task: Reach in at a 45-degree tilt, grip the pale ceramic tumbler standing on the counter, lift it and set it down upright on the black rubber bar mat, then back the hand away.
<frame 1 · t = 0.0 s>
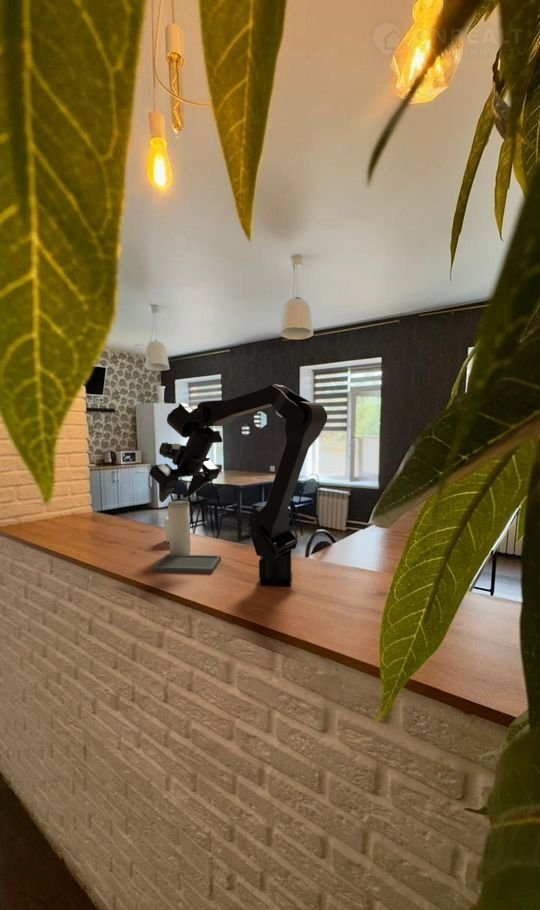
hand: (174, 498, 103), 15 cm above the bar counter, tool tilted 35°, fingers open, 9 cm apart
tumbler: (180, 553, 106), on the bar counter
shot glass: (176, 540, 118), on the bar counter
bar mat: (188, 565, 96), on the bar counter
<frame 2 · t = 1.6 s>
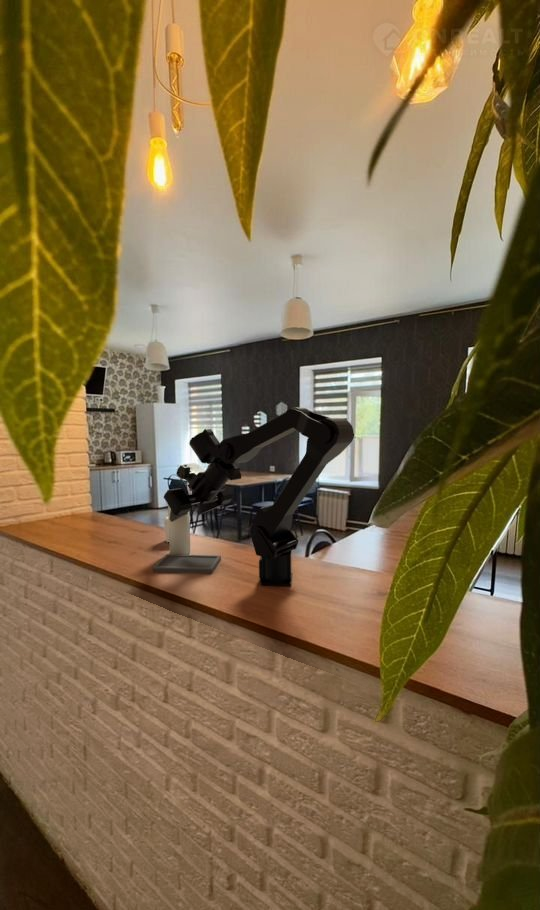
hand: (184, 516, 104), 10 cm above the bar counter, tool tilted 45°, fingers open, 9 cm apart
nothing on the bar counter moved.
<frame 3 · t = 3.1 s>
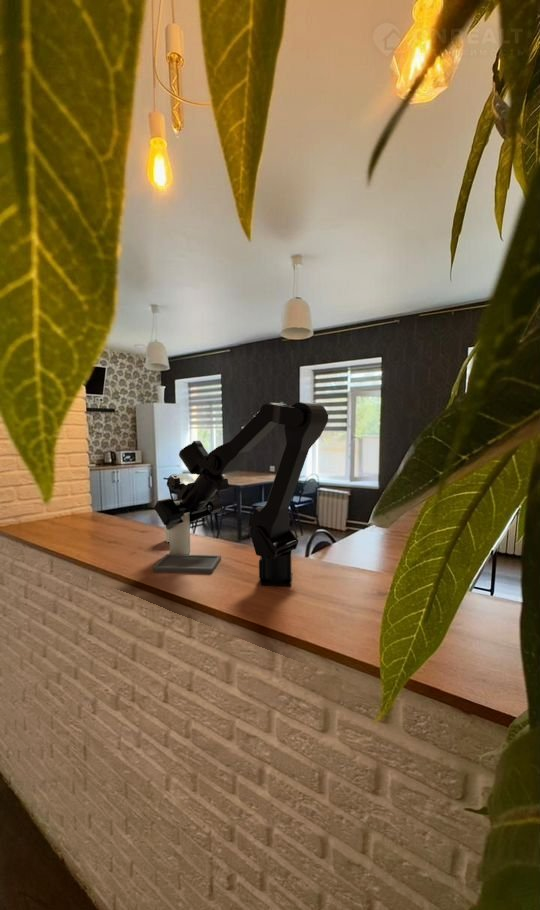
hand: (175, 525, 106), 7 cm above the bar counter, tool tilted 45°, fingers closed on tumbler, 5 cm apart
tumbler: (180, 553, 106), on the bar counter, touching gripper
everything else where it was.
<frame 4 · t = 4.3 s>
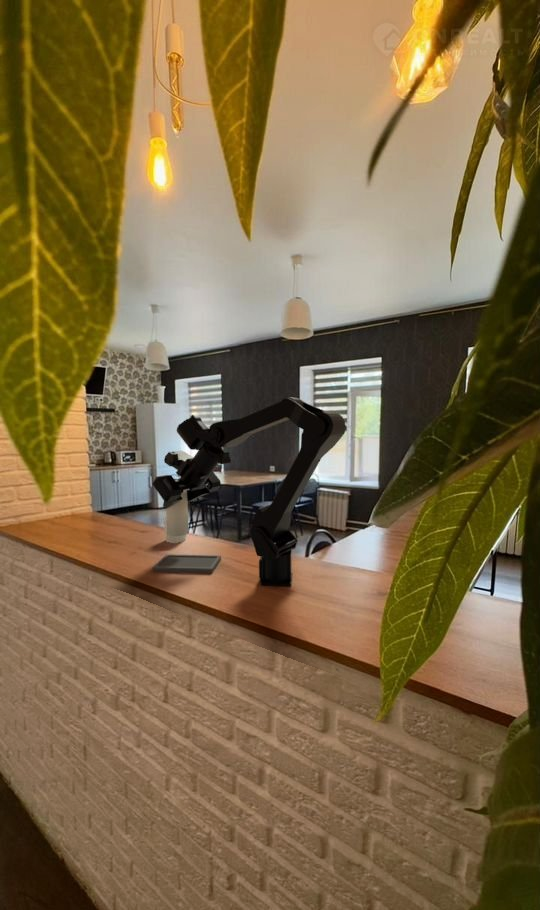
hand: (172, 505, 103), 13 cm above the bar counter, tool tilted 45°, fingers closed on tumbler, 5 cm apart
tumbler: (177, 533, 102), point 6 cm above the bar counter, touching gripper
everything else where it was.
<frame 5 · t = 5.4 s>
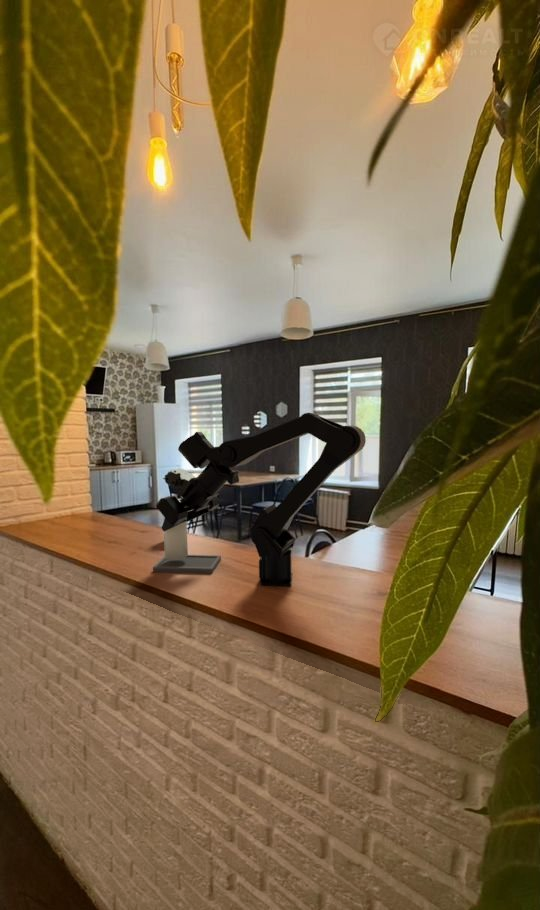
hand: (170, 526, 96), 9 cm above the bar counter, tool tilted 45°, fingers closed on tumbler, 5 cm apart
tumbler: (176, 556, 96), point 2 cm above the bar counter, touching gripper
everything else where it was.
when the fingers open (9 cm above the bar counter, at t = 5.9 s): tumbler stays where it is, resting on bar mat.
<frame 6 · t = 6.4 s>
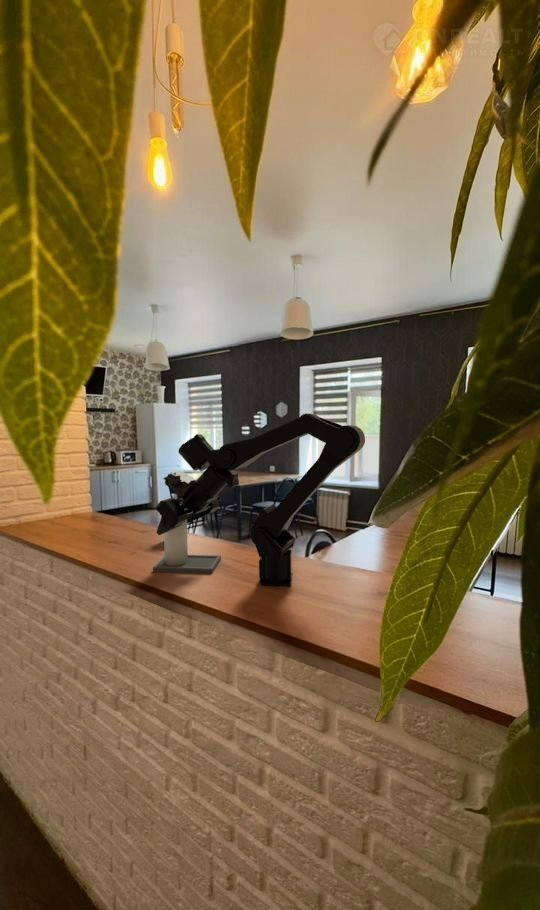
hand: (170, 528, 97), 9 cm above the bar counter, tool tilted 45°, fingers open, 9 cm apart
tumbler: (176, 561, 97), point 1 cm above the bar counter, touching bar mat
everything else where it was.
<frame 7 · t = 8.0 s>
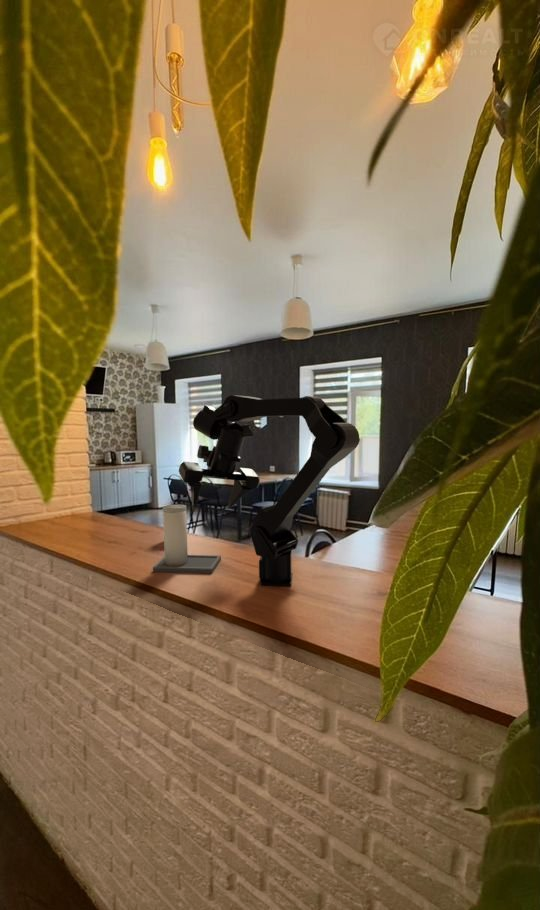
hand: (211, 506, 97), 14 cm above the bar counter, tool tilted 25°, fingers open, 9 cm apart
nothing on the bar counter moved.
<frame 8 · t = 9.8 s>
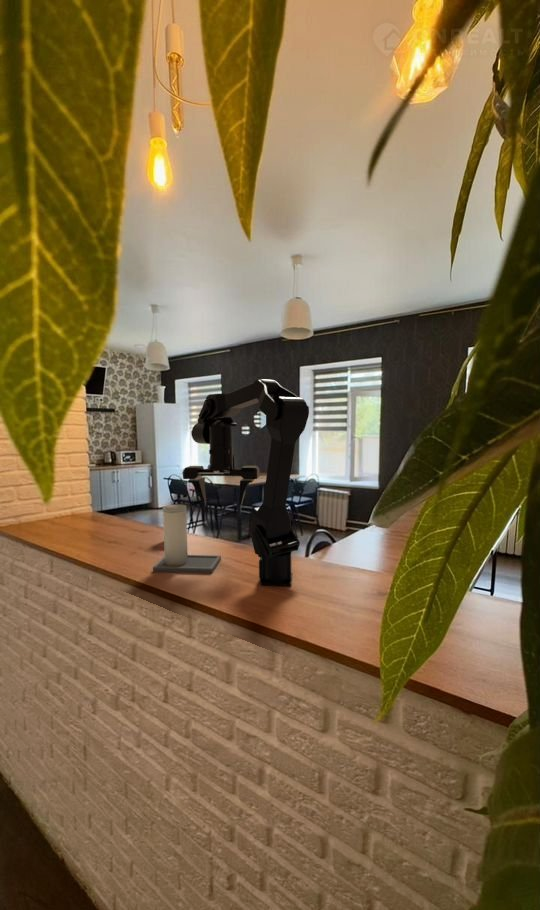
hand: (222, 506, 102), 13 cm above the bar counter, tool pointing down, fingers open, 9 cm apart
nothing on the bar counter moved.
at the end: tumbler inside the target area on the bar mat (2.9 cm from its centre), point 0.8 cm above the bar mat's base; tumbler tilted 0°; the gripper is holding nothing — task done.
